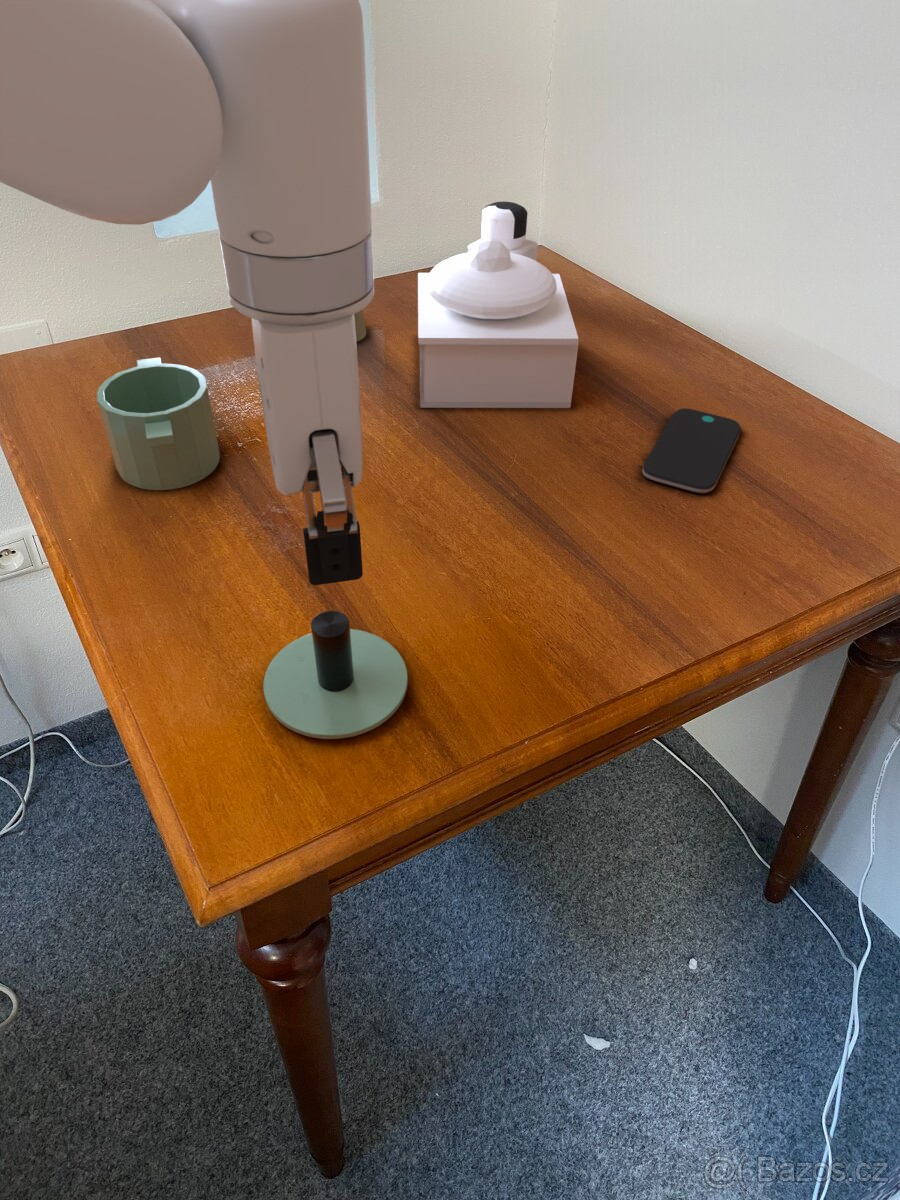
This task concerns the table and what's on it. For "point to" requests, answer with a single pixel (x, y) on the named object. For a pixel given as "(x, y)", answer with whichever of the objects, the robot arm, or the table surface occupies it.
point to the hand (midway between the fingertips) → (325, 530)
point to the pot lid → (335, 680)
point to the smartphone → (692, 451)
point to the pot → (159, 425)
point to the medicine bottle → (507, 228)
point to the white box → (494, 333)
